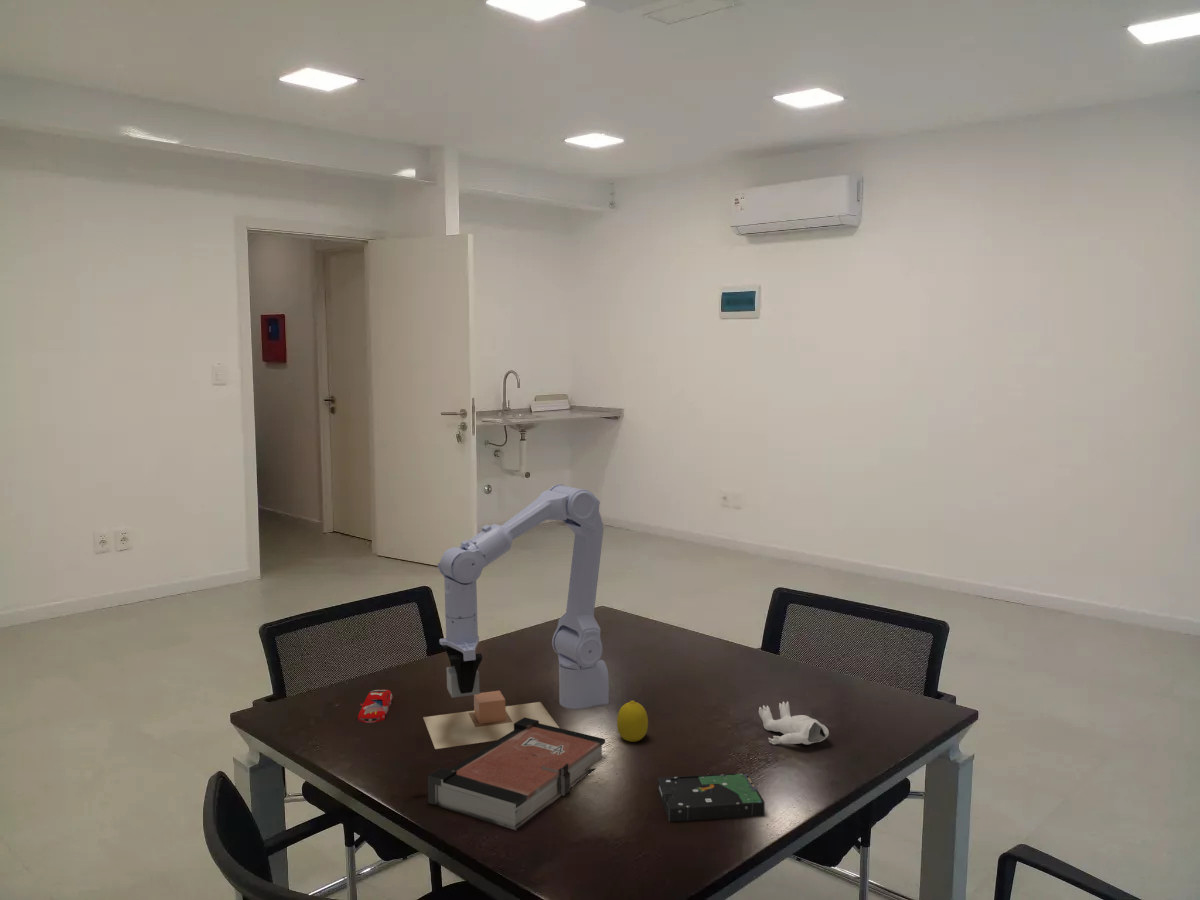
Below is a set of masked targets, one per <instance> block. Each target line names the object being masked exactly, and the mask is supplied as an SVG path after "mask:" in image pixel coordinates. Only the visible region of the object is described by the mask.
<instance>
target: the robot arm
mask: <svg viewBox="0 0 1200 900" xmlns="http://www.w3.org/2000/svg"><path fill="white" fill-rule="evenodd" d="M600 504H601V501H600V500H599V498H598V497H596V495H595V494H594V493H593V492H591V491H590V490H588V489H585V488H577V487H572V486H568V485H565V484H562V483H559V484H554V485H553V486H551V487H550V488H549V489H547V490H544V491H542V492H541V494H540V495H539V496H538V497H537V498H536V499H535V500H533V501H532V502H531V503H530V504H528V505H526V507H524V508H523V509H522V510H521V511H518V512H517V513H516V514H515V515H513V516H512V517H511V518H509V520H507V521H506V522H505V523H503V524H502V525H499V524H495V523H493V524H491V525H489V524H484V526H482V527H481V531H480V532H479V533H477V534H476V535H474V536H473V537H471V538H470V539H468V540H466V539H464V540H463V541H461V542H460V546H459V547H458V546H453V547H450V548H448V549H447V550H445V551H444V552H443V553H442V556H441V557H440V561H439V563H438V564H437V568H438V570H439V573H440V574H441V575H442V576H443V579H444V612H445V614H444V615H445V618H444V619H445V637H443V638H440V639H439V645H441V646H442V647H443V648H444V650H445V652H446V654H447V656H448V660H449V663H450V667H452V666H454V668H455V671H456V674H457V680H458V686H459V690H460V692H461V694H463V693H470V692H472V691H473V687H474V682H475V676H476V672H477V670H478V668H479V666H480V665H481V663H482V660H483V655H482V653H476V649H477V647H478V645H479V642H480V636H479V635H478V634H479V627H478V625H479V623H478V593H477V592H478V591H477V580H478V579H479V578H480V576H481V575H482V573H483V570H484V568H485V567H487V566H489V565H490V564H491V563H493V562H494V561H495V560H497V559H499V558H500V557H502V556H503V555H505V554H506V553H508V552H509V551H510V550H511V547H512V542H513V541H514V540H515V539H518V538H520V536H522V535H524V534H525V533H527V532H529V531H531V530H532V529H534V528H536V527H537V526H539V525H540V524H542V523H544V522H545V521H547V520H549V521H554V520H555V521H562V522H564V524H565V525H566V526H567V527H568V528H569V529H570V530H571V531H572V533H573V534H574V539H573V546H572V547H573V548H572V549H573V550H572V556H571V557H572V558H571V566H570V567H571V568H570V575H569V584H568V593H567V594H568V595H567V600H566V601H567V602H566V609H565V610H566V611H565V613H564V614H563V615H561V617H560V618H558V623H557V627H556V629H555V631H554V633H553V636H552V639H551V640H552V641H551V645H552V649H553V651H554V652H555V653H556V654H557V659H558V675H559V676H558V680H559V682H558V683H559V684H558V685H559V686H558V687H559V691H558V692H559V693H558V694H559V705H560V706H562V707H563V708H566V709H570V710H571V709H572V710H582V709H583V710H584V709H588V708H591V707H595V706H603V705H609V703H610V701H609V696H610V695H609V693H610V691H609V685H610V684H609V671H608V670H609V669H608V667H607V664H606V662H605V661H604V660H602V659H601V656H602V654H603V650H604V649H603V642H602V641H601V630H602V629H601V627H600V626H599V623H598V622H597V620H596V618H595V616H594V615H595V607H596V599H597V598H596V597H597V589H598V581H599V572H600V563H601V554H602V546H603V536H604V523H603V521H602V520H603V519H602V516H601V512H600Z"/></svg>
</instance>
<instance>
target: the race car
mask: <svg viewBox="0 0 1200 900" xmlns="http://www.w3.org/2000/svg"><path fill="white" fill-rule="evenodd" d="M393 699H394V697H393V694H392V691H391V690H389V689H375V690H371V691H369V692H368V694H367V695H366V697H365V700H364V702H363V703H360V704H359V706H361V707H360V710H359V712H358V715H357V721H358V722H362V723H367V724H370V723H371V724H372V723H378V722H381V721H384V720H385V719H386V716H387V715H388V713H389V709H390V707H391V704H394V702H393V701H394V700H393Z"/></svg>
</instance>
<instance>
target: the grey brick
mask: <svg viewBox="0 0 1200 900" xmlns="http://www.w3.org/2000/svg"><path fill="white" fill-rule="evenodd" d="M446 688H447V691H448V693H449V695H450V697H451V698H460V697H467V696H469V697H470V696H474V695H476V694H479V693H480V672H479V671H478V669H477V672H476V676H475V682H474V687H473V691H472V692H470V693H463V694H461V692H460V690H459V686H458V680H457V674H456V671H455V668H454V666H452V667H451V666H446Z"/></svg>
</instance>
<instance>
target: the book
mask: <svg viewBox="0 0 1200 900" xmlns="http://www.w3.org/2000/svg"><path fill="white" fill-rule="evenodd" d="M605 744H606V739H605V738H603V737H599V736H594V735H590V734H585V733H583V732H582V733H581V732H577V731H574V730H568V729H565V728H560V727H559V728H557V727H552V726H548V725H544V724H540V723H539V721H538V720H534V719H529V718H525V717H524V718H523V719H521V720H519V721H518V722H516V723H514V730H513V731H512V732H510V733H509V734H507V735H505V736H504V737H502V738H500V739H499V740H496V741H493V742H492V743H490V744H488V745H487V746H485V747H484V748H482V749H480V750H479V751H477V752H476V753H474V754H472V755H471V756H469V757H467V758H466V759H464V760H463V761H461V762H459V763H457V764H456V765H454V766H453V767H450V768H447V767H442V766H440V767H438V768H437V769H436V770H434V771H432V772H431V773H428V774H427V801H428V802H427V804H431V805H434V806H436V807H437V806H438V807H440V808H443V809H447V810H448V811H449V810H450V811H453V812H456V813H459V814H464V815H465V816H469V817H471V818H476V819H479V820H482V821H485V822H488V823H491V824H495V825H498V826H501V827H504V828H508V829H511V830H514V831H517V830H518V829H520V828H521V827H522V826H524V825H525V824H526V823H527V822H529V821H530V820H531V819H533V818H534V817H535V816H537V815H538V814H539V813H541V812H542V811H543V810H544V809H546V808H548V807H549V806H550V805H551V804H553V802H555V801H557V799H559V798H560V797H565V796H566V795H568V793H570V792H571V789H572V788H573V787H574V786H575V784H576V783H577V782H578V783H579V781H580V780H581V779H582V780H583V778H584V777H585V776H586V777H588V776H589V775H590V774H591V773H593V772H594V771H595V770H597V769H596V768H597V767H596V768H589V767H591V766H592V764H594V763H595V762H597V761H599V760H600V759H601V758H602V757H603V745H605ZM588 768H589V769H588ZM592 771H593V772H592ZM588 774H589V775H588ZM586 777H585V778H586ZM585 778H584V779H585ZM582 780H581V781H582ZM578 783H577V784H578ZM577 784H576V785H577ZM571 787H572V788H571ZM570 788H571V789H570Z"/></svg>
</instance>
